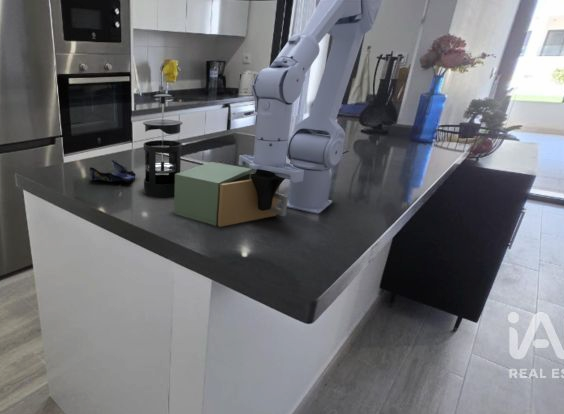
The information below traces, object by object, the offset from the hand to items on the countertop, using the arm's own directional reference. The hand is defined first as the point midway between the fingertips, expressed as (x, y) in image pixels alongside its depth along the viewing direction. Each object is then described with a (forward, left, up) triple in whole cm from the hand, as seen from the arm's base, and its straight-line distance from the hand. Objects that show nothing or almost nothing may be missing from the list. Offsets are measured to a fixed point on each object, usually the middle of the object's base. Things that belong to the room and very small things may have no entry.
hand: (264, 209), depth 73 cm
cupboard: (0, -11, -3) cm, 12 cm away
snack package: (-2, -43, -3) cm, 43 cm away
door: (+2, -1, -3) cm, 3 cm away
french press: (-3, -27, -3) cm, 28 cm away
